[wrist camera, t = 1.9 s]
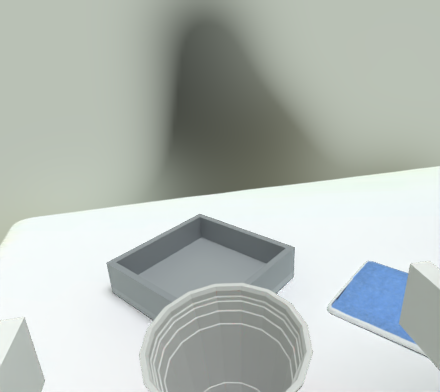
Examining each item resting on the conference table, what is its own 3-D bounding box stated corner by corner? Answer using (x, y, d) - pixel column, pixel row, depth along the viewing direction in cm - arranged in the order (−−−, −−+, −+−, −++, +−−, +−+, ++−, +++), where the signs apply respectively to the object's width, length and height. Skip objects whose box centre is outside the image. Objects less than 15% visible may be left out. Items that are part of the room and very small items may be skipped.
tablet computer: (323, 314, 42) (324, 305, 41) (365, 264, 50) (367, 256, 50) (542, 416, 30) (547, 405, 29) (549, 328, 38) (553, 318, 38)
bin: (201, 239, 58) (199, 213, 56) (293, 276, 48) (294, 247, 46) (112, 292, 46) (106, 262, 45) (207, 357, 36) (204, 322, 34)
